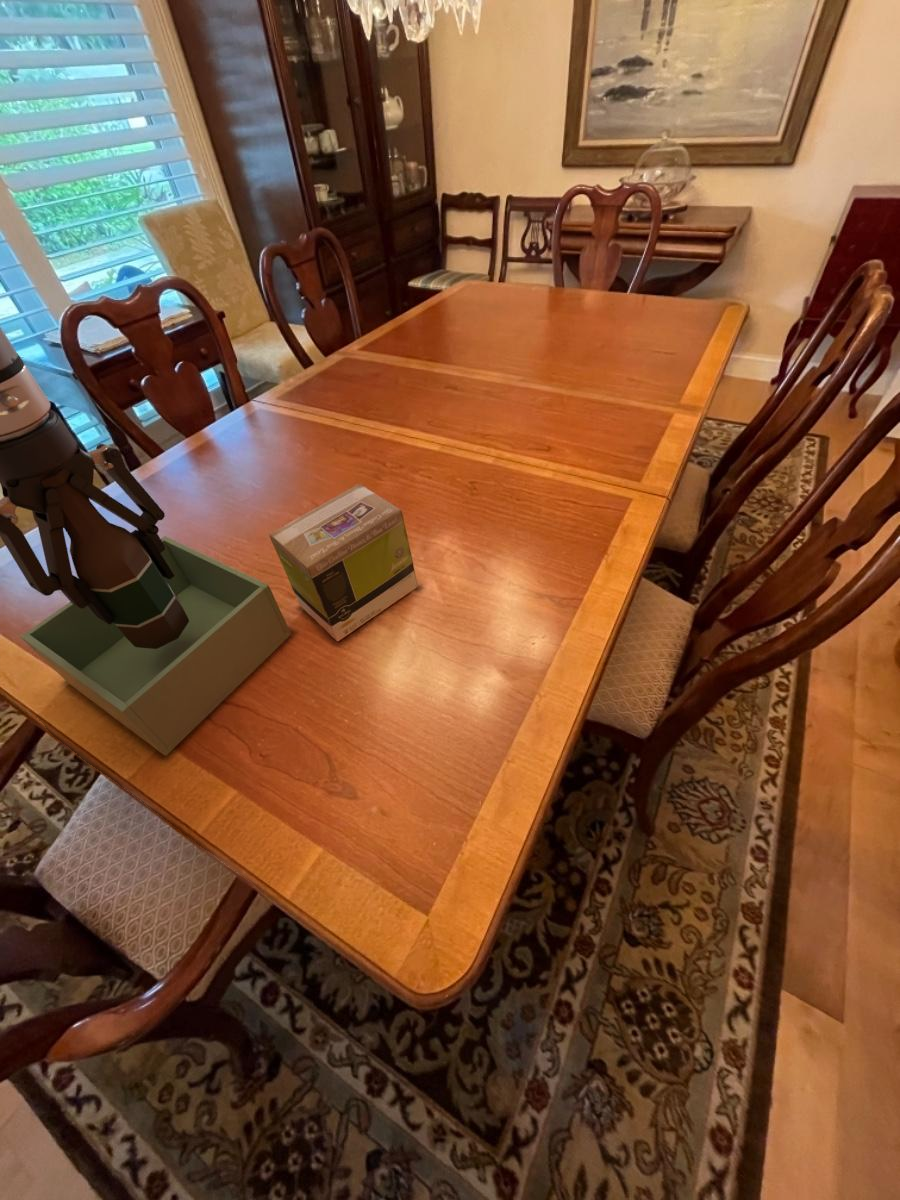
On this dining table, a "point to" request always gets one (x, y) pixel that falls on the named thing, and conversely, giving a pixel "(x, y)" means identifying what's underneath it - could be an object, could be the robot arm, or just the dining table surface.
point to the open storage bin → (169, 650)
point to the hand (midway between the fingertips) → (136, 595)
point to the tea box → (347, 559)
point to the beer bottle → (118, 571)
